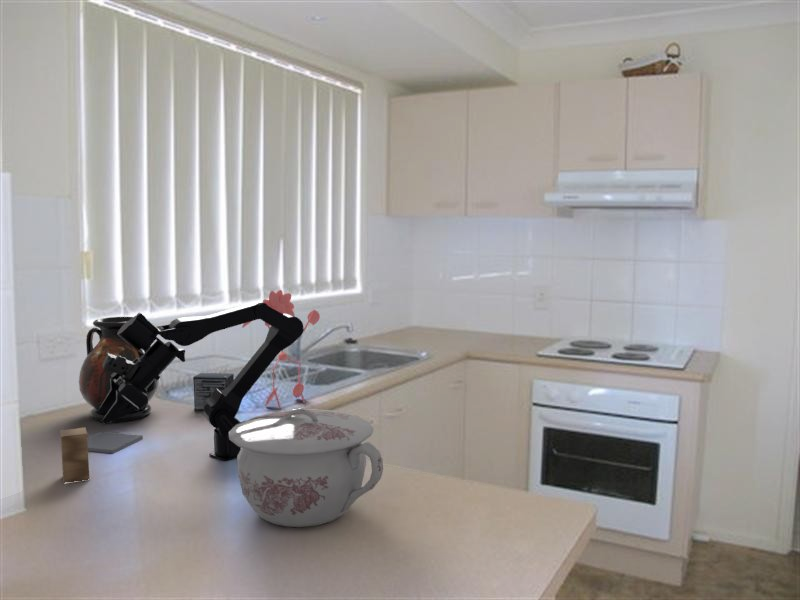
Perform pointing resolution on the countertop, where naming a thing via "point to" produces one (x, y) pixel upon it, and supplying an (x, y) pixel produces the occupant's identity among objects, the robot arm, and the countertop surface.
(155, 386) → the amphora vase
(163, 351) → the robot arm
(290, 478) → the chamber pot
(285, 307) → the figurine
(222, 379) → the small box
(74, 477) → the walnut block
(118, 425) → the countertop surface
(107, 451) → the plate
